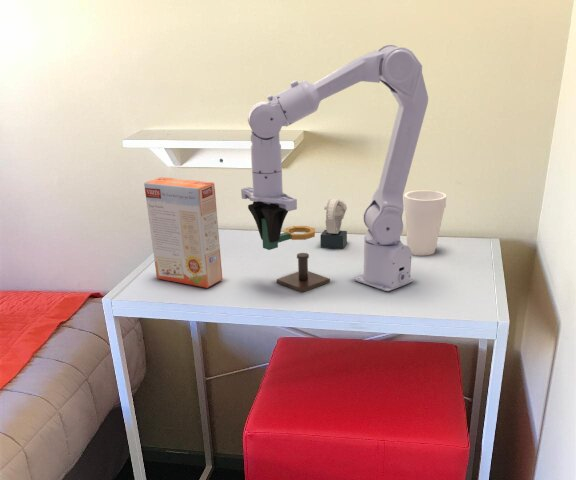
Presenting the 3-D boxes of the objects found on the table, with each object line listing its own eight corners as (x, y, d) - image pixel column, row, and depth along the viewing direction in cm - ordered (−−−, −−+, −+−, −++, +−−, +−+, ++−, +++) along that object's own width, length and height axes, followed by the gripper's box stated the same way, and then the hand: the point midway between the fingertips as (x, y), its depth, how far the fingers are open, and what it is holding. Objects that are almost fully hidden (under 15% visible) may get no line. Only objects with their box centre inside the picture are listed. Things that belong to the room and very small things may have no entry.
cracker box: (224, 280, 143) (215, 181, 132) (207, 289, 138) (197, 188, 128) (173, 270, 149) (161, 175, 139) (155, 279, 145) (142, 181, 134)
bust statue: (348, 241, 164) (349, 196, 158) (341, 251, 157) (341, 204, 152) (326, 239, 165) (326, 195, 160) (318, 249, 159) (318, 203, 153)
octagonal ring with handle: (300, 232, 143) (299, 204, 140) (321, 238, 138) (321, 209, 135) (255, 245, 136) (254, 216, 133) (276, 252, 131) (275, 222, 128)
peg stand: (330, 282, 140) (330, 254, 137) (302, 292, 135) (301, 264, 132) (304, 273, 145) (303, 246, 142) (276, 282, 141) (275, 254, 138)
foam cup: (442, 258, 151) (447, 200, 144) (400, 257, 152) (404, 200, 146) (440, 245, 159) (445, 190, 152) (401, 244, 160) (404, 189, 154)
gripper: (227, 168, 129) (232, 236, 136) (275, 179, 120) (278, 252, 126) (255, 162, 133) (258, 229, 140) (304, 173, 124) (305, 244, 130)
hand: (270, 239), depth 133 cm, fingers closed on octagonal ring with handle
